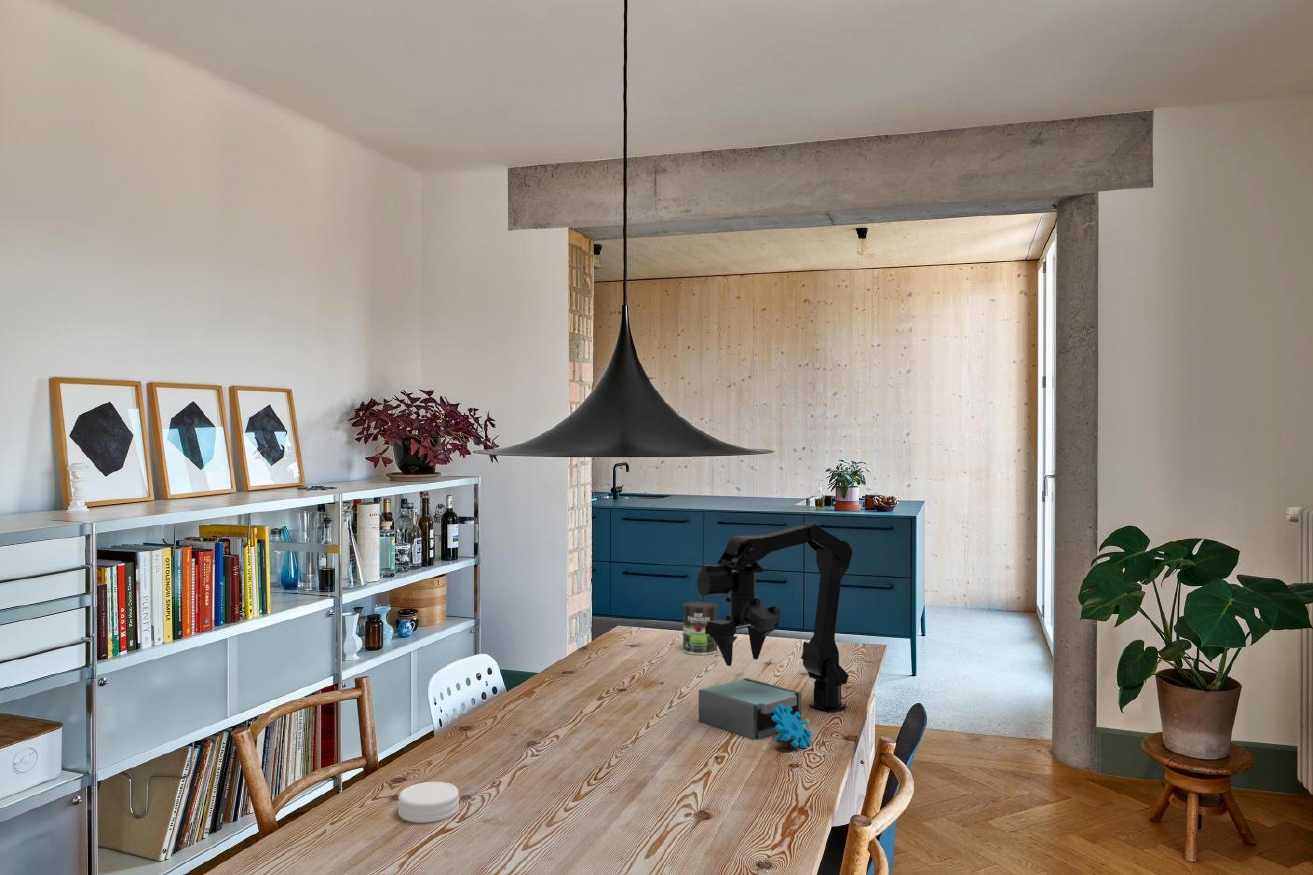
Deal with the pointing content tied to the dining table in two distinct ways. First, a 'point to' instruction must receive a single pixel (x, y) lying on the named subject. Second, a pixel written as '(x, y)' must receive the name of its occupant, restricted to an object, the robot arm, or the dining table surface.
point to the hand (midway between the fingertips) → (742, 662)
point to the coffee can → (698, 627)
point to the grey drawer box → (738, 713)
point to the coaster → (428, 802)
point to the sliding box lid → (756, 694)
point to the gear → (791, 726)
